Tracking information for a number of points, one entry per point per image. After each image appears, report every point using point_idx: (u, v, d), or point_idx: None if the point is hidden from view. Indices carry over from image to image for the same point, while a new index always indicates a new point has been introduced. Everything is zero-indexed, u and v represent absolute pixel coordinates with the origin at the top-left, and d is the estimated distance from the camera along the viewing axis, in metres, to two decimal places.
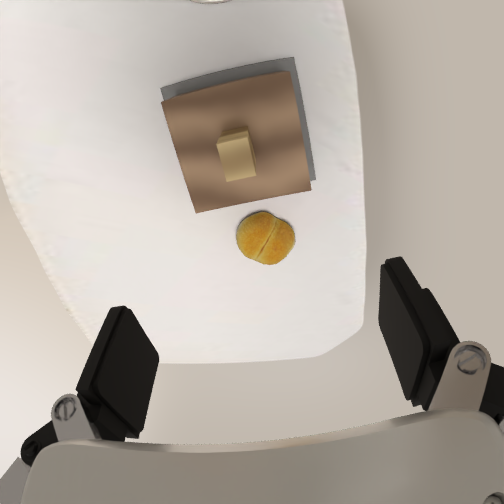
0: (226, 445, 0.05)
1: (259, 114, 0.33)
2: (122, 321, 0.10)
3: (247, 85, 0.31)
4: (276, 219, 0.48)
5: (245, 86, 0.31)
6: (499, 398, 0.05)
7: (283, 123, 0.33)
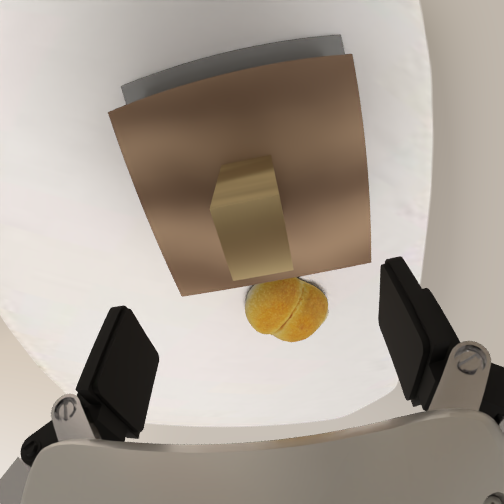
0: (226, 445, 0.05)
1: (293, 133, 0.17)
2: (122, 321, 0.10)
3: (271, 76, 0.15)
4: (303, 283, 0.33)
5: (267, 78, 0.15)
6: (499, 398, 0.05)
7: (337, 152, 0.18)
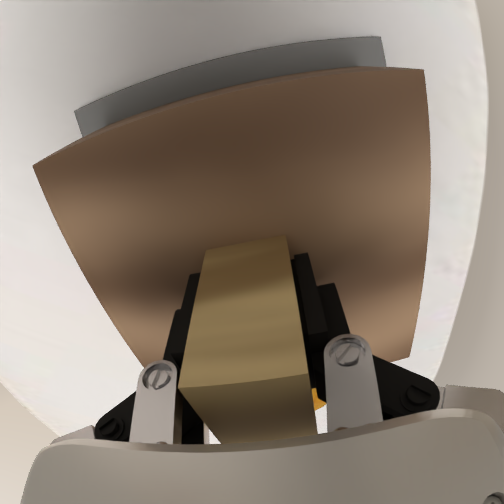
0: (226, 445, 0.05)
1: (323, 201, 0.11)
2: None
3: (289, 102, 0.09)
4: None
5: (282, 106, 0.09)
6: (380, 394, 0.07)
7: (388, 229, 0.11)
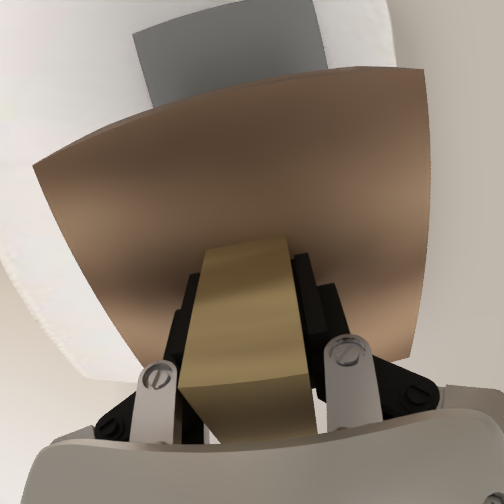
0: (226, 445, 0.05)
1: (323, 201, 0.11)
2: None
3: (289, 102, 0.09)
4: None
5: (282, 105, 0.09)
6: (380, 394, 0.07)
7: (388, 228, 0.11)
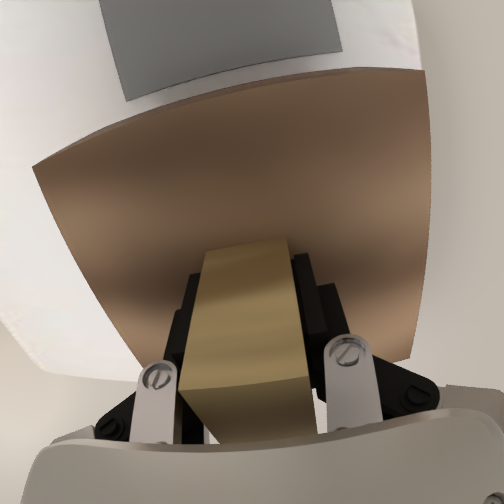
0: (226, 445, 0.05)
1: (323, 202, 0.11)
2: None
3: (289, 103, 0.09)
4: None
5: (282, 107, 0.09)
6: (380, 394, 0.07)
7: (388, 230, 0.11)
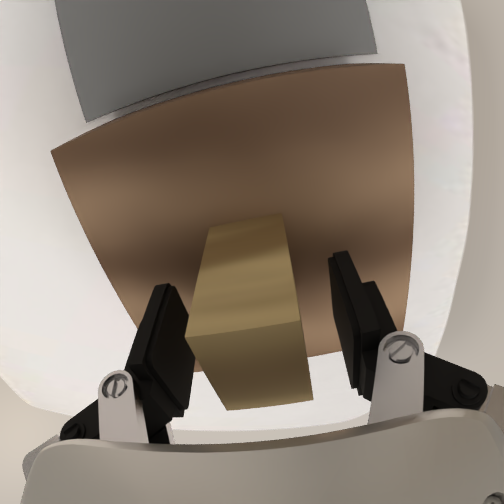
0: (226, 445, 0.05)
1: (315, 182, 0.12)
2: (169, 297, 0.11)
3: (283, 94, 0.10)
4: None
5: (277, 97, 0.10)
6: (434, 390, 0.06)
7: (376, 208, 0.12)
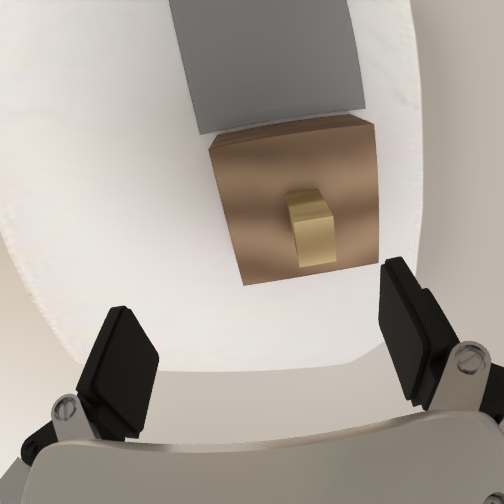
0: (226, 445, 0.05)
1: (333, 175, 0.27)
2: (122, 321, 0.10)
3: (322, 137, 0.25)
4: None
5: (320, 138, 0.25)
6: (499, 398, 0.05)
7: (360, 188, 0.28)
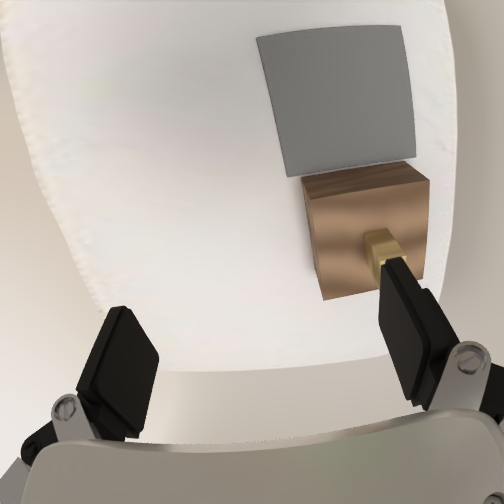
0: (226, 445, 0.05)
1: (398, 218, 0.34)
2: (122, 321, 0.10)
3: (393, 191, 0.33)
4: None
5: (392, 192, 0.33)
6: (499, 398, 0.05)
7: (415, 226, 0.35)
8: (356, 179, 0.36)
